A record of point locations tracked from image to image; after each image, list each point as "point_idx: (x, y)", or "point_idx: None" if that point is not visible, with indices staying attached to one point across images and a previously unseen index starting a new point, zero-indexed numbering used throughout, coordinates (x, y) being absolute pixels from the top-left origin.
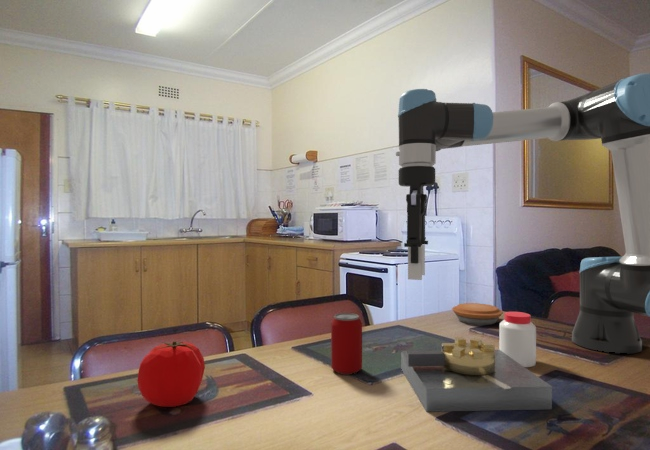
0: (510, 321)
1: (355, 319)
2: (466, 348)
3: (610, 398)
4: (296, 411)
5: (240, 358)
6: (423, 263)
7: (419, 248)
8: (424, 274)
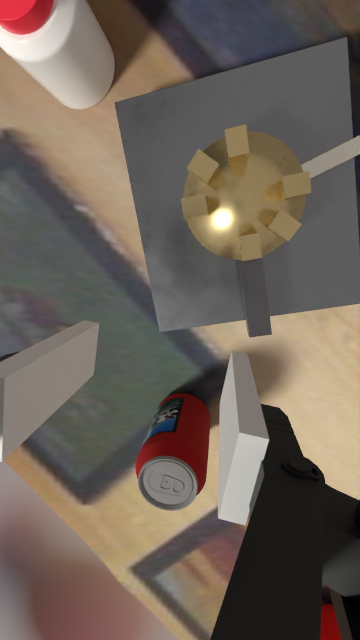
0: (44, 19)
1: (186, 464)
2: (230, 199)
3: None
4: (348, 476)
5: (154, 570)
6: (73, 343)
7: (264, 448)
8: (97, 324)
